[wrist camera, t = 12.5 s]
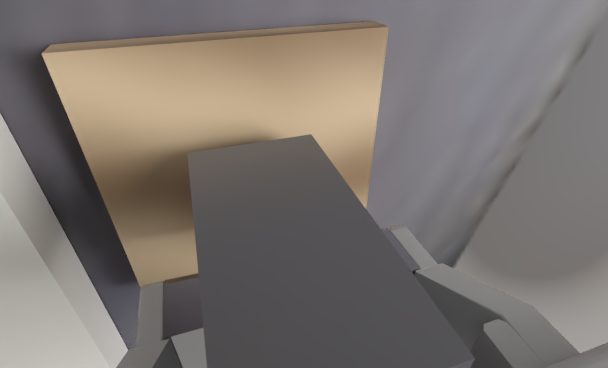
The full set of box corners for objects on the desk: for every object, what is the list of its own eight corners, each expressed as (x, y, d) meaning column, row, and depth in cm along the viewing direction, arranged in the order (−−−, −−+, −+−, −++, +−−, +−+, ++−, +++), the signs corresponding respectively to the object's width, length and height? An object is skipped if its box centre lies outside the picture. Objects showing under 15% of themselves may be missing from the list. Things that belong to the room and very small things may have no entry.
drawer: (208, 246, 13) (263, 662, 6) (187, 152, 11) (232, 649, 3) (310, 224, 14) (474, 552, 7) (311, 134, 12) (565, 482, 4)
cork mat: (51, 44, 10) (41, 53, 9) (374, 21, 12) (388, 26, 11) (146, 280, 16) (144, 298, 15) (353, 232, 18) (361, 245, 17)
